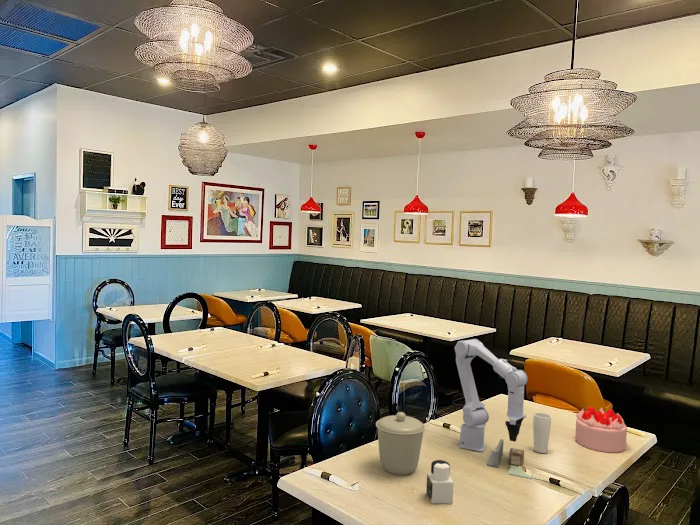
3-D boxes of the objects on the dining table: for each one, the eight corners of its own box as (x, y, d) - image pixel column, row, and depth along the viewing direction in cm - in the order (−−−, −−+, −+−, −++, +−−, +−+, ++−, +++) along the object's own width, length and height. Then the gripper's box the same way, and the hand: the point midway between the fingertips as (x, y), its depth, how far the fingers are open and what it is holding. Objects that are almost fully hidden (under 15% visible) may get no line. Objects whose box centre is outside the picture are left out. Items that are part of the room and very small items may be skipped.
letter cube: (508, 465, 202) (509, 452, 202) (510, 460, 207) (510, 447, 207) (522, 468, 200) (522, 454, 200) (523, 463, 205) (524, 449, 205)
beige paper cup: (550, 455, 213) (552, 418, 212) (532, 453, 214) (534, 416, 214) (547, 449, 220) (549, 413, 219) (530, 447, 221) (532, 411, 220)
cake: (620, 457, 214) (622, 422, 213) (568, 444, 226) (570, 411, 225) (629, 443, 230) (631, 411, 229) (580, 432, 242) (582, 401, 241)
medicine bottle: (426, 493, 177) (427, 457, 177) (447, 493, 178) (448, 457, 177) (431, 503, 170) (432, 467, 170) (452, 503, 171) (454, 467, 170)
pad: (508, 474, 194) (508, 473, 194) (511, 466, 202) (511, 465, 202) (531, 478, 191) (531, 477, 191) (533, 470, 198) (533, 469, 198)
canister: (427, 463, 201) (430, 408, 200) (417, 483, 184) (420, 423, 183) (381, 455, 207) (383, 402, 206) (367, 474, 190) (370, 416, 189)
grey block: (486, 465, 201) (487, 449, 201) (492, 452, 214) (493, 437, 214) (497, 467, 200) (498, 451, 199) (502, 454, 212) (503, 439, 212)
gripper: (524, 409, 195) (522, 445, 195) (528, 399, 208) (527, 433, 209) (504, 406, 198) (503, 442, 198) (510, 396, 211) (508, 430, 211)
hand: (514, 437), depth 204 cm, fingers open, 7 cm apart
